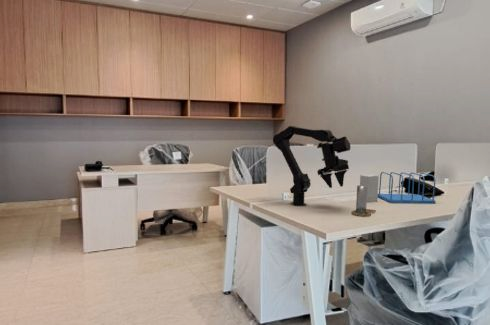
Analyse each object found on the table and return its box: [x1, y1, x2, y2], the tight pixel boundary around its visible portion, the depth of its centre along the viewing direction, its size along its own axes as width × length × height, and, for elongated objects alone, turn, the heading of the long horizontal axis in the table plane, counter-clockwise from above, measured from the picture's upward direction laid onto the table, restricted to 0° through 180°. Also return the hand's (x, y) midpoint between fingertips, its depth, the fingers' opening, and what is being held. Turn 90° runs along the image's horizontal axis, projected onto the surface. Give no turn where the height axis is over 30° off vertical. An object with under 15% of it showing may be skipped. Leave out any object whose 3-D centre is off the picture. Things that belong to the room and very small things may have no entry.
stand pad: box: [366, 208, 377, 215], centre depth 166 cm, size 8×8×1 cm
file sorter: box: [377, 171, 437, 205], centre depth 196 cm, size 25×17×15 cm
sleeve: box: [355, 184, 368, 214], centre depth 158 cm, size 4×4×13 cm
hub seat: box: [350, 209, 372, 218], centre depth 159 cm, size 11×11×2 cm
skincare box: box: [359, 173, 380, 203], centre depth 189 cm, size 8×6×15 cm
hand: (336, 187), depth 167 cm, fingers open, 9 cm apart
